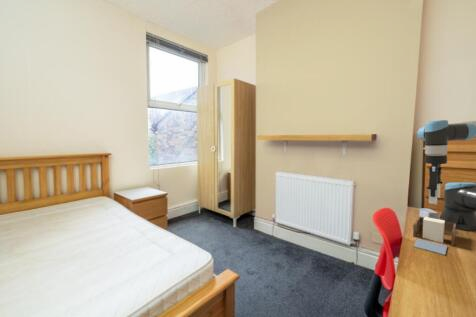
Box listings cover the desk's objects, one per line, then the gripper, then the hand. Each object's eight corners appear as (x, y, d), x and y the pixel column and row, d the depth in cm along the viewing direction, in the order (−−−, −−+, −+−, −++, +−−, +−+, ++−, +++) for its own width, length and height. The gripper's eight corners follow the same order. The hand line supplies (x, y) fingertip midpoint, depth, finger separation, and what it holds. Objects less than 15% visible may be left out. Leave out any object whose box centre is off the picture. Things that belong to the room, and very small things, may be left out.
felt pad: (417, 239, 99) (417, 238, 99) (447, 246, 92) (447, 245, 92) (413, 246, 93) (413, 245, 93) (445, 255, 85) (445, 254, 85)
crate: (418, 227, 112) (418, 216, 111) (455, 235, 102) (455, 223, 101) (413, 236, 102) (413, 224, 102) (453, 246, 92) (453, 233, 92)
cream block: (424, 234, 104) (424, 216, 103) (444, 239, 99) (444, 220, 98) (422, 237, 101) (423, 219, 100) (442, 242, 96) (443, 223, 95)
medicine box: (438, 229, 109) (439, 213, 108) (428, 229, 110) (429, 212, 109) (428, 223, 117) (428, 208, 116) (418, 223, 118) (419, 207, 117)
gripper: (428, 152, 107) (427, 193, 109) (420, 157, 91) (419, 205, 93) (449, 152, 102) (447, 195, 104) (444, 157, 85) (443, 208, 87)
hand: (434, 200), depth 98 cm, fingers open, 13 cm apart
